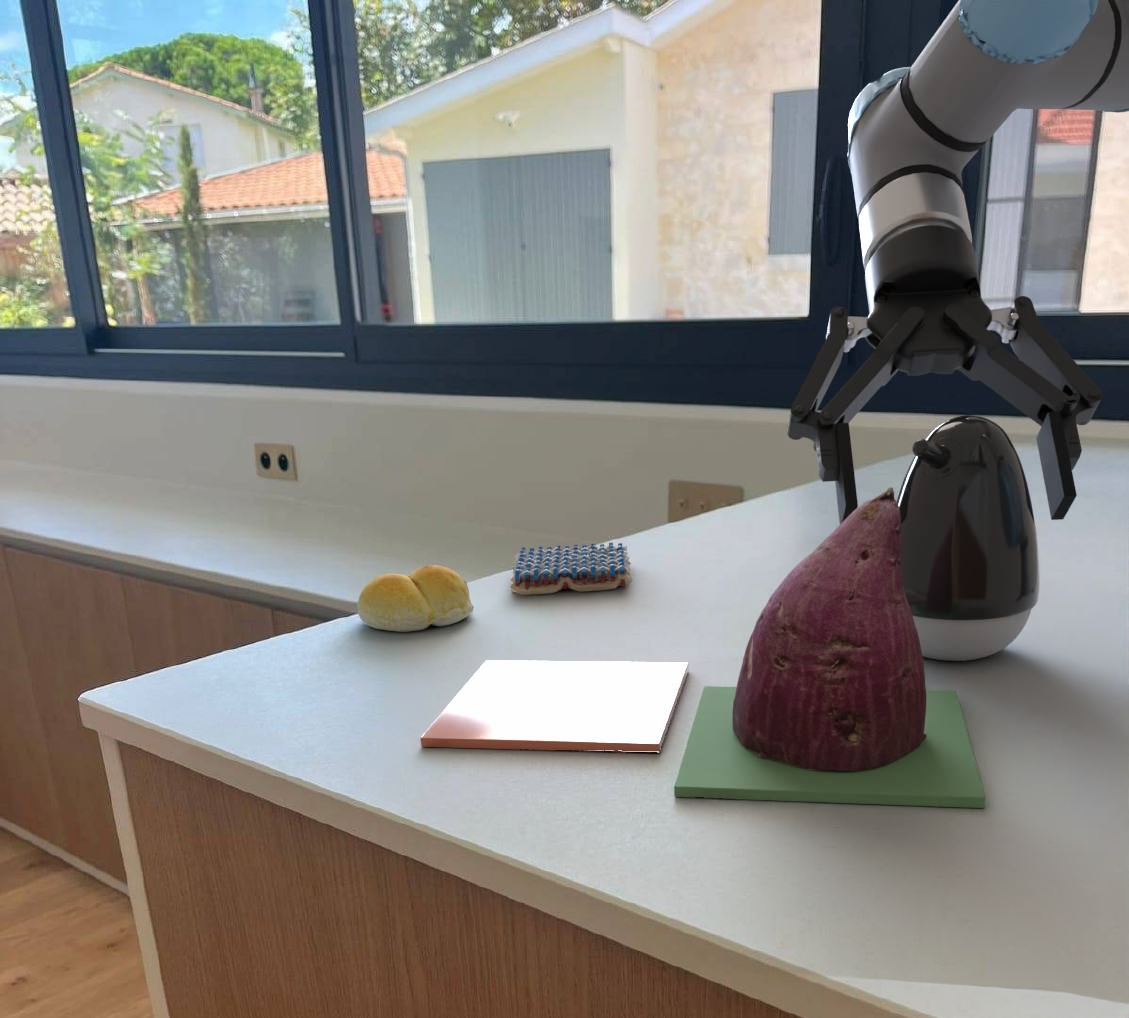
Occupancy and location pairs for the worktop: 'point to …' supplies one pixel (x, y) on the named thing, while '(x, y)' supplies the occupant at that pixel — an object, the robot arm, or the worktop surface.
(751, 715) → the vegetable
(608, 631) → the worktop surface
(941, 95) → the robot arm
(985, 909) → the worktop surface
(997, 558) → the pump dispenser
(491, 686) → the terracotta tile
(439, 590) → the bread roll
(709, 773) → the green mat
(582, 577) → the woven mat
